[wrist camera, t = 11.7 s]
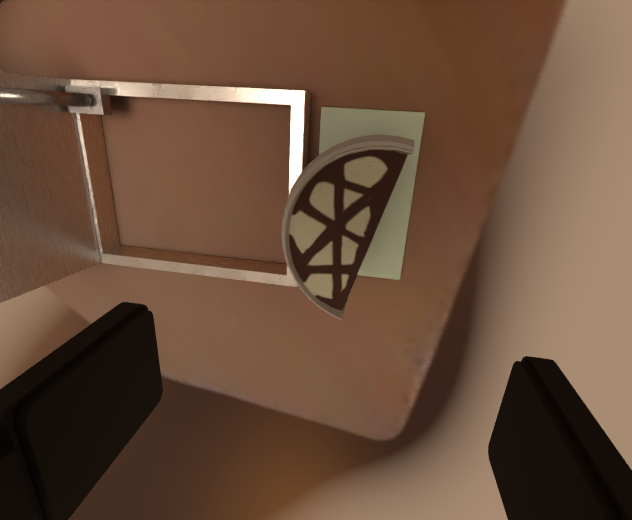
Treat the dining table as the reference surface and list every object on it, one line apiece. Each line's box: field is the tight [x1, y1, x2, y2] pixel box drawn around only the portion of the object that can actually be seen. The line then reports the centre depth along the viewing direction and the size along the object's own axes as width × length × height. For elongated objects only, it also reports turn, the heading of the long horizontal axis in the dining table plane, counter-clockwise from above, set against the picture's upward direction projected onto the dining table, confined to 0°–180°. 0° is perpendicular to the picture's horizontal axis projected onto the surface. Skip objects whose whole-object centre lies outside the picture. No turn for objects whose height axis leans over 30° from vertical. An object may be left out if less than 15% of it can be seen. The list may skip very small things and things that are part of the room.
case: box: [0, 71, 311, 303], centre depth 26 cm, size 16×23×16 cm
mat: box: [319, 107, 425, 280], centre depth 31 cm, size 14×8×1 cm, turn 177°
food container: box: [281, 135, 415, 320], centre depth 27 cm, size 12×6×10 cm, turn 161°
